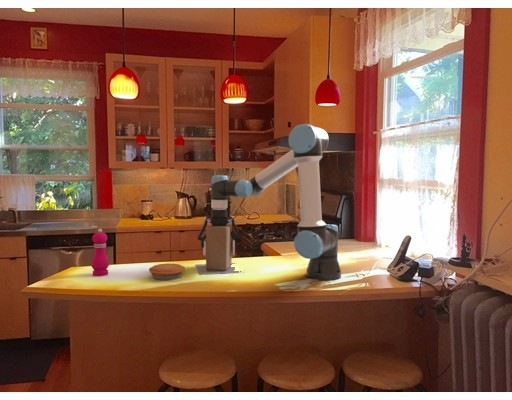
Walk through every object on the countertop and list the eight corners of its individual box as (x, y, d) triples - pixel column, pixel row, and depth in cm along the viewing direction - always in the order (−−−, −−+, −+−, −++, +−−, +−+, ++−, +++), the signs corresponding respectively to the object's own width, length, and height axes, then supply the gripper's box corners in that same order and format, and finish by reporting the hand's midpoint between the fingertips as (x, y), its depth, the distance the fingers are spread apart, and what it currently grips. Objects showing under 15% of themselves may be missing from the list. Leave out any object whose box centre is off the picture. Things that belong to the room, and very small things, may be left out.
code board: (244, 272, 191) (244, 272, 191) (199, 274, 186) (199, 274, 186) (235, 263, 210) (235, 263, 210) (195, 264, 205) (195, 264, 205)
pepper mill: (92, 277, 179) (91, 230, 178) (90, 273, 185) (89, 228, 184) (110, 275, 182) (110, 229, 181) (107, 272, 189) (107, 227, 187)
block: (226, 271, 192) (226, 227, 191) (205, 270, 194) (205, 226, 193) (232, 266, 202) (232, 224, 201) (211, 265, 204) (212, 224, 203)
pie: (146, 274, 186) (146, 263, 186) (181, 271, 192) (181, 260, 191) (151, 283, 172) (151, 270, 171) (189, 279, 177) (189, 268, 177)
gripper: (244, 207, 203) (243, 251, 204) (191, 208, 197) (191, 253, 198) (247, 209, 196) (246, 255, 197) (193, 209, 190) (192, 256, 191)
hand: (219, 254), depth 198 cm, fingers open, 13 cm apart
